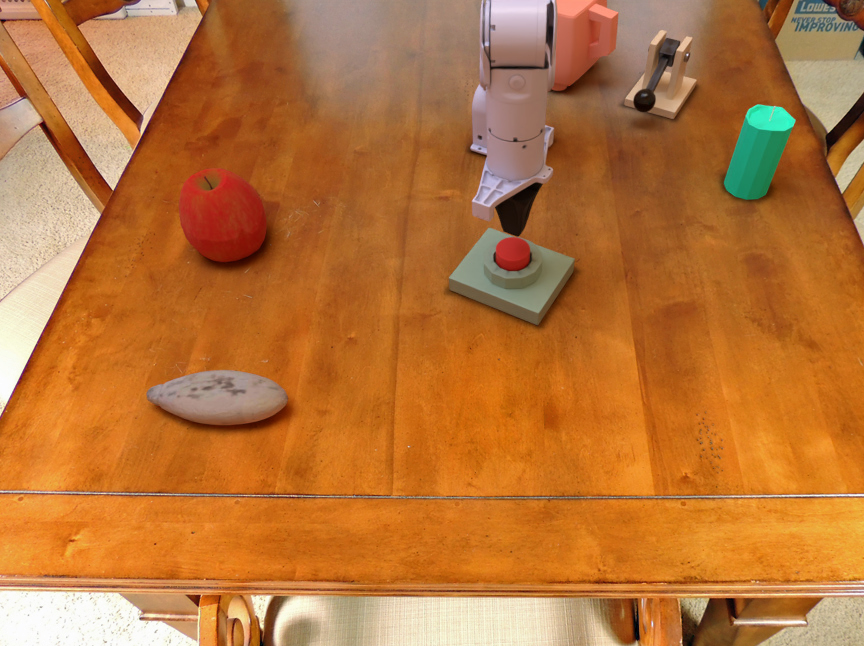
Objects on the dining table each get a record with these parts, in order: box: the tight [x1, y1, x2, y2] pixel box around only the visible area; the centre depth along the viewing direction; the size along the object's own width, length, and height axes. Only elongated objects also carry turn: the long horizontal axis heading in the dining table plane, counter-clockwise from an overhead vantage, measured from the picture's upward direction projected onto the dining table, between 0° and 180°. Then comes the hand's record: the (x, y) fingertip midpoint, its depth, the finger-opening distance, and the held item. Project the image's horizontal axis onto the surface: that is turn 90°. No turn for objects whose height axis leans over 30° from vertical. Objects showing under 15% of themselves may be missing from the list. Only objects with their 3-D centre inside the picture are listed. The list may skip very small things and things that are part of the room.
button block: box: [448, 227, 576, 326], centre depth 82 cm, size 12×10×4 cm
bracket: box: [623, 29, 698, 120], centre depth 103 cm, size 10×8×9 cm
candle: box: [723, 104, 797, 201], centre depth 89 cm, size 6×6×12 cm
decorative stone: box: [146, 369, 289, 426], centre depth 72 cm, size 6×16×3 cm, turn 88°
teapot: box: [551, 0, 620, 92], centre depth 106 cm, size 22×13×14 cm, turn 56°
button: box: [496, 236, 530, 271], centre depth 80 cm, size 4×4×2 cm
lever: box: [633, 37, 681, 113], centre depth 100 cm, size 12×3×3 cm, turn 151°
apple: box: [178, 167, 268, 263], centre depth 84 cm, size 10×10×10 cm
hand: (513, 230), depth 77 cm, fingers closed
